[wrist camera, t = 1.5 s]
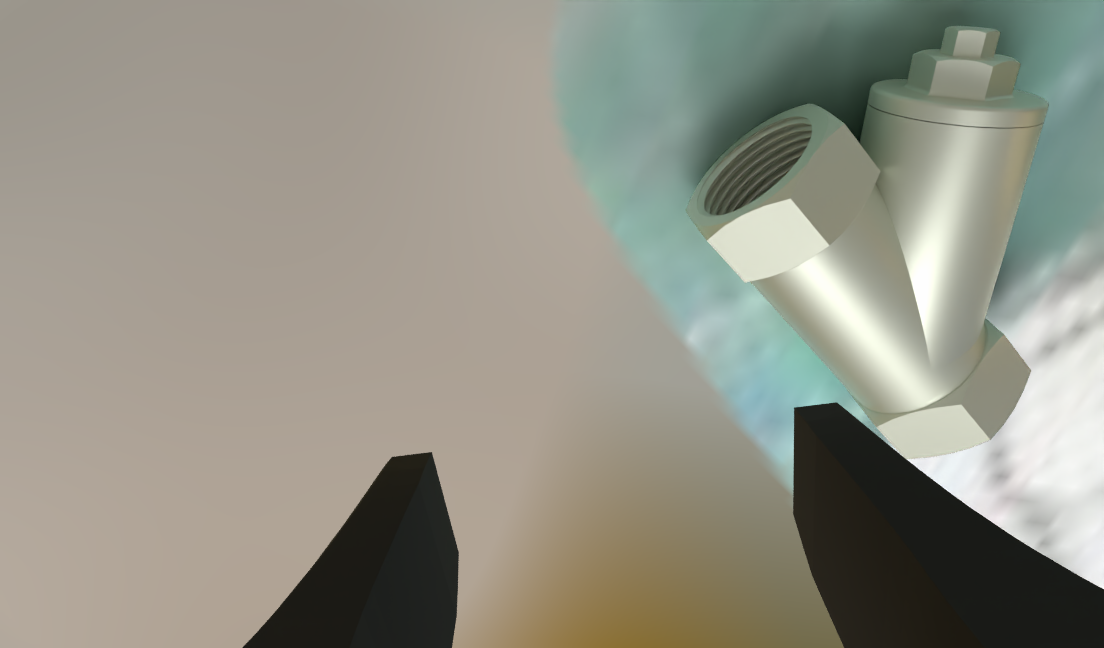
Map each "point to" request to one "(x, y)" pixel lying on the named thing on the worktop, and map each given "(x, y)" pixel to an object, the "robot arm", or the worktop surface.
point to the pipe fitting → (892, 238)
